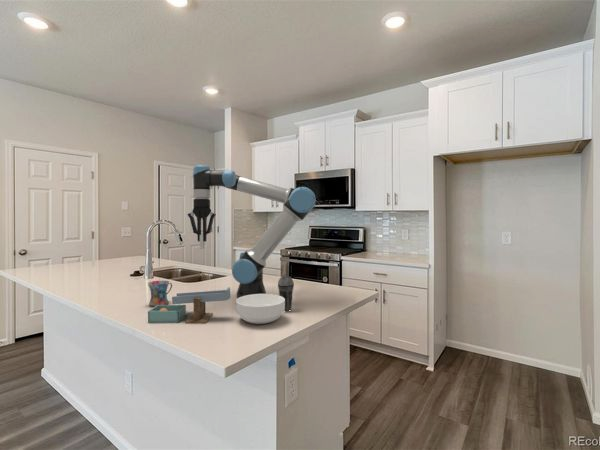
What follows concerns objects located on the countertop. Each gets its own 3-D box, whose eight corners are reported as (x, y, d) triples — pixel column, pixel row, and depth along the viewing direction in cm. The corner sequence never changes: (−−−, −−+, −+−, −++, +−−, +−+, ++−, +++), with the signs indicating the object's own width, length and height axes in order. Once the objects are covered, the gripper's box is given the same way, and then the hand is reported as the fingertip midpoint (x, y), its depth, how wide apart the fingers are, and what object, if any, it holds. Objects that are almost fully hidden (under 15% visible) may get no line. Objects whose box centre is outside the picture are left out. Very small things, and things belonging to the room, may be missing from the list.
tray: (185, 315, 138) (185, 304, 138) (178, 322, 129) (178, 311, 129) (157, 315, 138) (157, 305, 138) (147, 322, 129) (147, 311, 129)
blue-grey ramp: (233, 293, 144) (232, 283, 144) (227, 301, 131) (227, 290, 131) (183, 296, 143) (182, 287, 143) (172, 305, 130) (171, 294, 130)
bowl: (264, 332, 119) (264, 309, 119) (225, 322, 130) (225, 301, 129) (294, 318, 136) (294, 297, 136) (257, 310, 146) (257, 291, 146)
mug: (156, 308, 148) (156, 285, 147) (143, 305, 152) (143, 283, 152) (178, 302, 158) (178, 280, 158) (165, 300, 163) (165, 278, 162)
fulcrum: (212, 314, 140) (212, 292, 139) (206, 323, 129) (206, 299, 128) (193, 314, 139) (193, 292, 139) (185, 323, 128) (185, 299, 128)
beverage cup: (296, 309, 148) (296, 265, 148) (290, 313, 141) (290, 267, 141) (281, 307, 151) (281, 264, 150) (274, 311, 144) (275, 266, 143)
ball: (170, 308, 135) (161, 306, 135) (167, 310, 132) (158, 308, 132) (168, 316, 135) (159, 314, 135) (164, 319, 132) (156, 317, 132)
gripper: (217, 199, 159) (217, 247, 160) (190, 199, 159) (190, 247, 159) (213, 198, 152) (214, 249, 152) (185, 198, 151) (185, 249, 152)
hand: (202, 248), depth 156 cm, fingers closed
